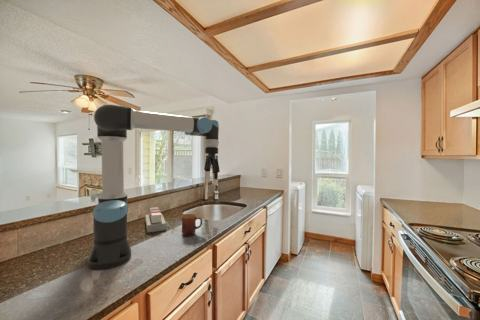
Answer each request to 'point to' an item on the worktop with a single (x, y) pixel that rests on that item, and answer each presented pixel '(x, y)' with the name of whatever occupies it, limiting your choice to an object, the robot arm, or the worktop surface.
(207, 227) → the worktop surface
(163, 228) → the key panel
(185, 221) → the mug
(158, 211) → the red key
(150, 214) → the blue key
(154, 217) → the white key
